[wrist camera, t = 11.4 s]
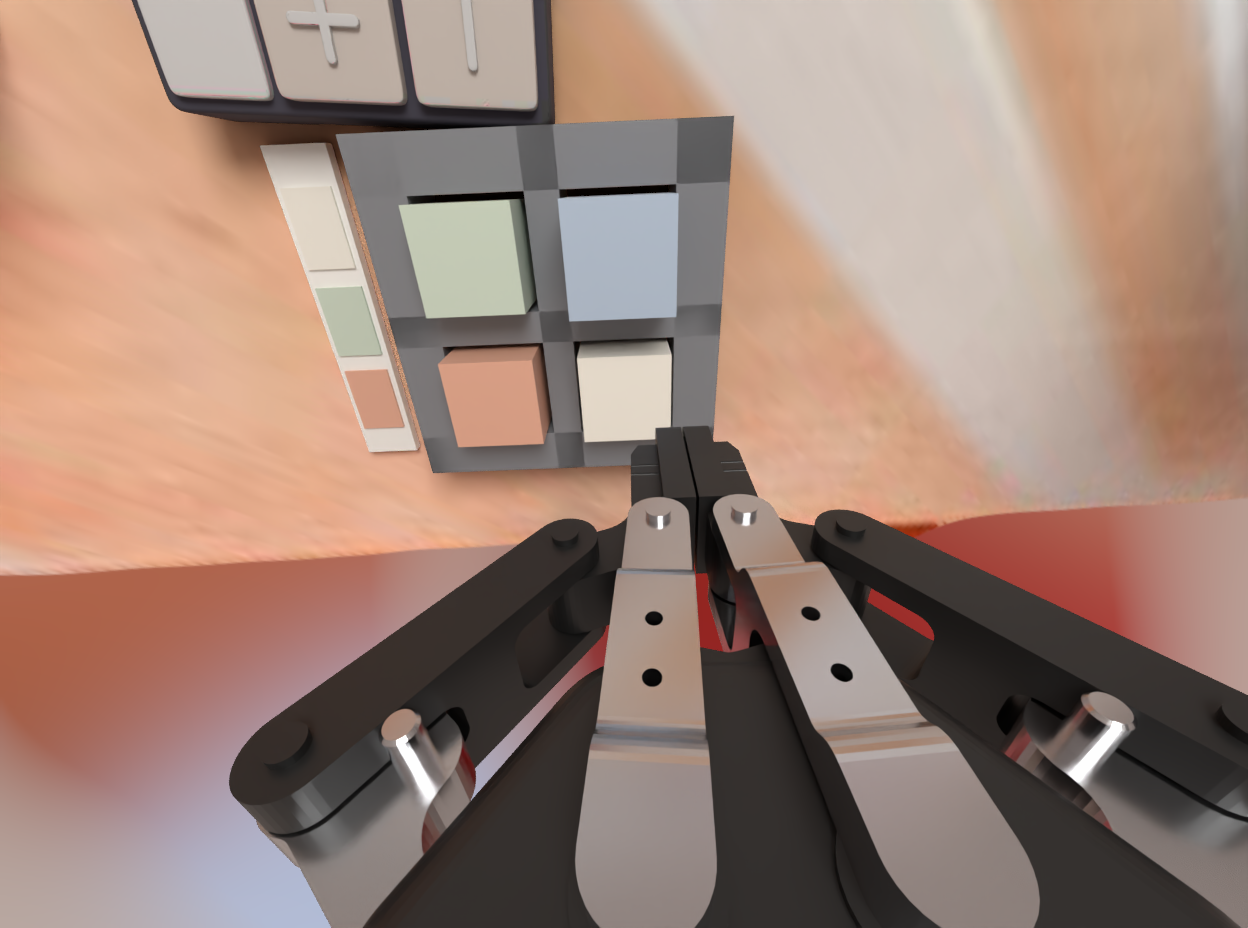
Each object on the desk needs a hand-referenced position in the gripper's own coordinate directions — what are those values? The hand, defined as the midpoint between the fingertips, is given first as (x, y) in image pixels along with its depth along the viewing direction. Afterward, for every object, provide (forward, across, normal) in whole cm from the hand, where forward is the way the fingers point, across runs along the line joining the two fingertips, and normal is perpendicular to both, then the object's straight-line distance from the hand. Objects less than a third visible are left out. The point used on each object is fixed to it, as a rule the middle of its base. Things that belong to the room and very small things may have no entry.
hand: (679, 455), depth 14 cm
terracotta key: (+13, +8, +2) cm, 16 cm away
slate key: (+12, +2, -4) cm, 13 cm away
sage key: (+13, +8, -4) cm, 16 cm away
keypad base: (+15, +5, -1) cm, 16 cm away
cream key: (+13, +2, +2) cm, 14 cm away
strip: (+14, +16, -1) cm, 22 cm away
